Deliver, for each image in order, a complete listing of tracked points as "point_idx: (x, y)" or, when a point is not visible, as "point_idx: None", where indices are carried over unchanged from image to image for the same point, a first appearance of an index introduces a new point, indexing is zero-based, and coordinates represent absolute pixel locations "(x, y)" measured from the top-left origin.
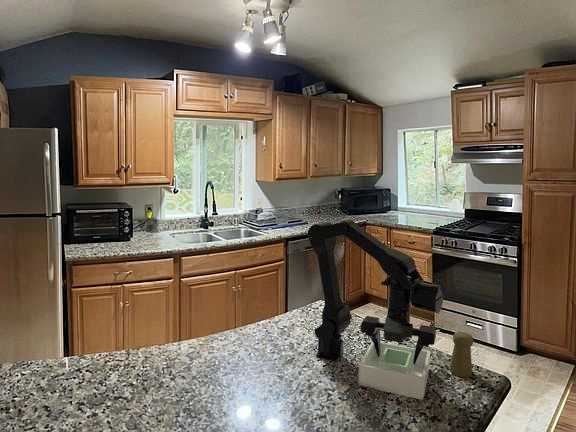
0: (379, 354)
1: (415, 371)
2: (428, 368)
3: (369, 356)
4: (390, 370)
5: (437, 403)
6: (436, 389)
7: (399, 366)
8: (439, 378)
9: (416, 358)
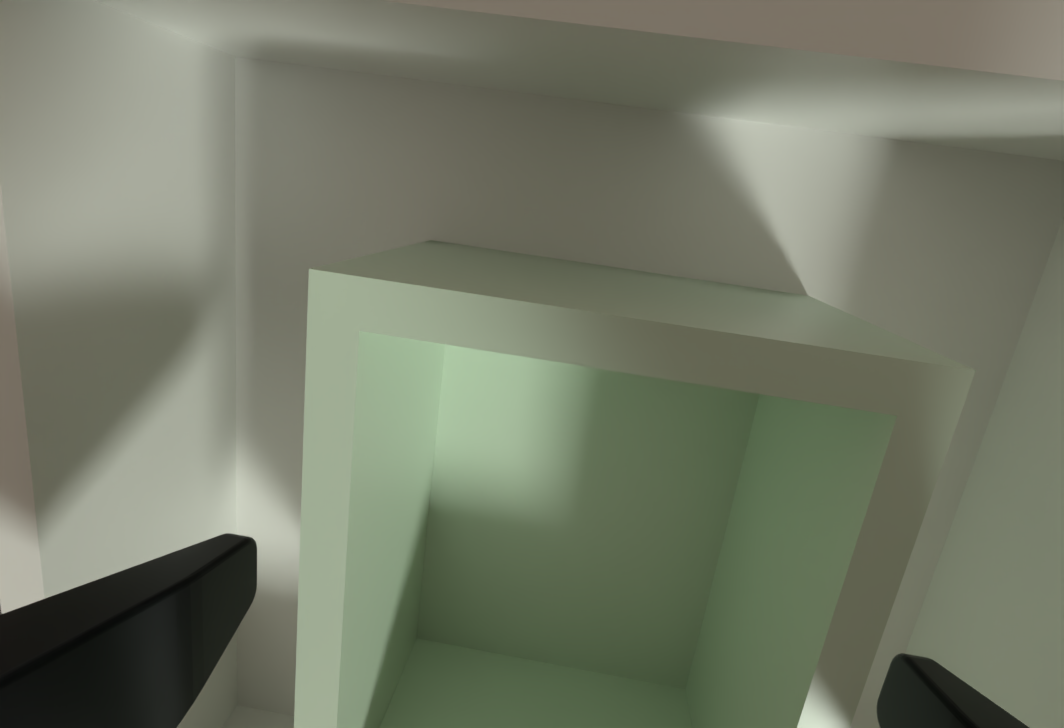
0: (930, 701)
1: None
2: None
3: (1031, 721)
4: (694, 28)
5: None
6: None
7: (482, 295)
8: None
9: (92, 586)
